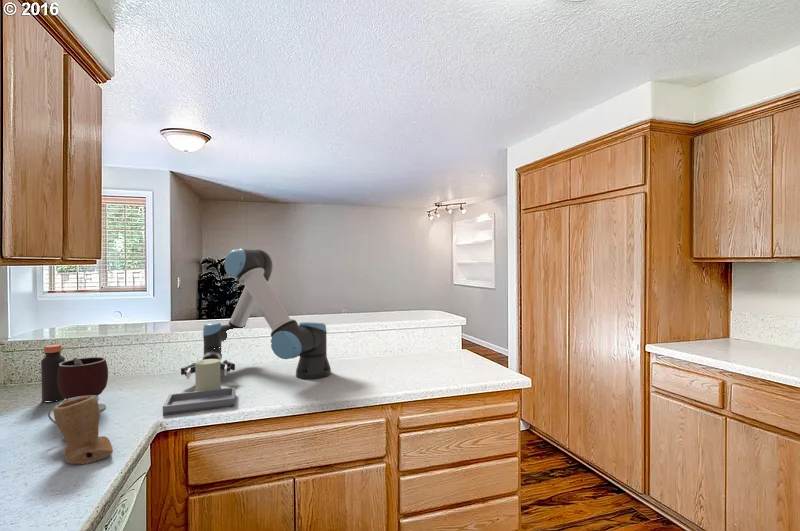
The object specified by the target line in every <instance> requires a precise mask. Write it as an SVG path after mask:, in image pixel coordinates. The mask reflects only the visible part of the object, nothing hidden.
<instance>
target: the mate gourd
mask: <svg viewBox="0 0 800 531" xmlns="http://www.w3.org/2000/svg"><path fill="white" fill-rule="evenodd" d="M108 378H109V367H108V363H107V358H106V357H103V356H89V357H80V358H77V357H74V358H72V359H68V360H65V361H64V362H62V363H60V364H59V368H58V374H57V384H58V389H59V392H60V394H61V395H62V396H63V397H64V400H66V399H69V398H73V397H78V396H85V395H97V396H99V395H101V394H102V393H103V391H104V390H105V389H106V387H107V385H108V380H109V379H108ZM98 406H99V412H100V413H101V412H103V411H105V410H106V409H107V406H106V404H104V403H98Z"/></svg>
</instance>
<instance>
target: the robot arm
mask: <svg viewBox="0 0 800 531" xmlns="http://www.w3.org/2000/svg"><path fill="white" fill-rule="evenodd" d="M224 270H225V272H226V274H227V275H228V276H229V277H233V278H236V280H237V281H238V283H239V285H243V286H244V288H243V290H242V293H241V294H240V297H239V299H238V301H237V304H236V306H235V308H234V311H233V312H232V315H231V317H230V319H229V322H228V323H227V324H225V325H224V324H223V325H222V324H221V323H220V322H217V321H216V322H206V323H204V325H203V330H202V331H203V332H202V336H203V356H202V359H201V360H204V359H219V360H220V371H221V370H222V371H224V376H228V373H229V372H231V371H235V370H236V364H235V363H234V362H231V361H228V360H227V359H225V360H224V361H223V360H222V358H223V353H222V354H221V352H222V343H223V342H225V341H224V340H226V338H227V333H226V331H227V330H229V329H233V328H243V327H245V326H247V322H248V320H249V318H250V316H251V313H252V312H253V309H254V307H255V306H257V307H258V310H259V311H260V313H261V315H262V316H263V317H264V320H265V321H266V323H267V324H268V326H269V328H270V329H271V331H270V337H271V339H270V343H271V344H270V347H271V350H272V351H273V354H275V356H276V357H278V358H279V359H282V360H290V359H295V358H298V357H299V360H298V363H297V365H296V369H295V376H296V377H297V378H299V379H304V380H313V379H314V380H315V379H322V378H325V377H328V376H330V375H331V374H332V368H331V365H330V362H329V359H328V357H327V356H328V354H327V333H328V332H327V326H326V325H327V324H326V323H323V322H314V321H313V322H312V321H311V322H309V321H308V322H307V321H305V322H304V321H303V322H299V324H298V322H297V320H296V319H293V318H290V316H289V315H288V313H287V311H286V309H285V308H284V306H283V305H282V303H281V302H280V300H279V298H278V297H277V295H276V294H275V291H274V290H273V288H272V287H271V286H270V284H269V280H270V278H271V275H272V272H273V259H272V258H271V255H270V254H268V252H266V251H264V250H262V249H242V248H239V249H238V248H237V249H233V250H231V251H229V253H228V254H226V257H225V259H224ZM222 341H223V342H222ZM219 347H220V348H219ZM214 348H215V349H214ZM221 360H222V361H223V362H222V361H221ZM192 374H195V362H192V363H191V364H188V365H186V366H184V367H182V368H180V375H182V376H185V377H186V379H187V380H190V378H191V375H192Z"/></svg>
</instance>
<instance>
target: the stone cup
mask: <svg viewBox="0 0 800 531" xmlns="http://www.w3.org/2000/svg"><path fill="white" fill-rule="evenodd" d="M60 403H61V402H60ZM60 403H59V404H57V405H55V406H54V407H53V408H54V410H53V417H54V421H55V422H56V424H55V425H56V426H57V428H58V429H59V432H60V433H61V436H62V435H63V437H64V439H63V440H64V441H65V444H66V447H65V449H64V451H63V454H64V457H65V461H66V462H67V463H68V464H76V465H87V464H91V463H95V462H98V461H101V460H103V459H106V457H109V456H111V455H112V454H113V452H114V450H113V446H112V443H111V441H110V439H109V438H108V437H107V436H99V425H100V424H99V422H100V416H101V412H99V406H98V404H99V400H98V401H97V399H96V398H95V397H93V396H85V397H81V398H77V399H74V400H70V401H67V402H63V403H61V404H60Z"/></svg>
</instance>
